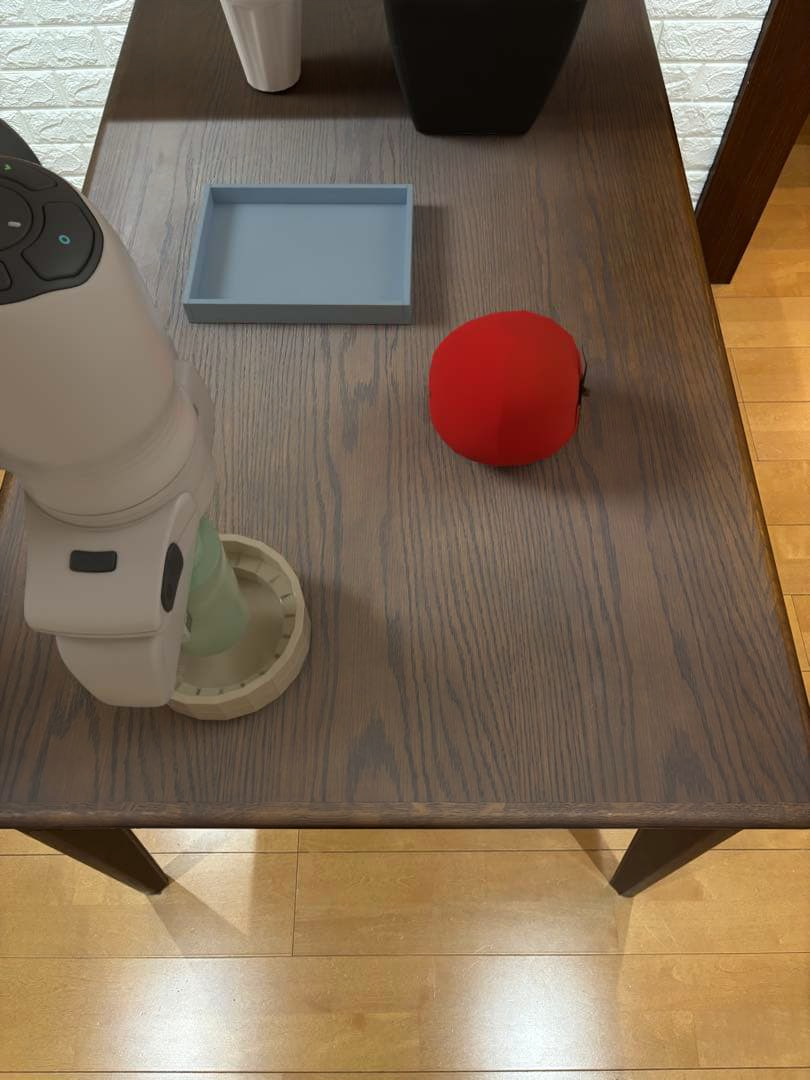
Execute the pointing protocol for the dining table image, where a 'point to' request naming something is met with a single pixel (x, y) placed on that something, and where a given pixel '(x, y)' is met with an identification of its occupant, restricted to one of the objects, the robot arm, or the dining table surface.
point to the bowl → (249, 641)
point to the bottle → (214, 598)
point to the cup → (267, 40)
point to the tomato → (507, 388)
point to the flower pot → (479, 60)
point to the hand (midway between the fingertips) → (186, 580)
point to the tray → (302, 254)
